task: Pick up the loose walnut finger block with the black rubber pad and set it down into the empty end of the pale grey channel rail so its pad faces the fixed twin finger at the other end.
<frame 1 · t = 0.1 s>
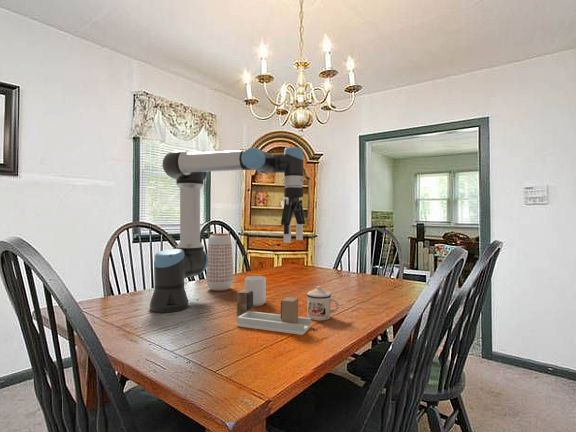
hand: (293, 241, 140), 28 cm above the table, fingers open, 13 cm apart
white patterned vase: (219, 289, 180), on the table
rail: (273, 326, 123), on the table
mug: (257, 303, 154), on the table
teacup with lid: (322, 318, 133), on the table
finger block: (244, 314, 137), on the table
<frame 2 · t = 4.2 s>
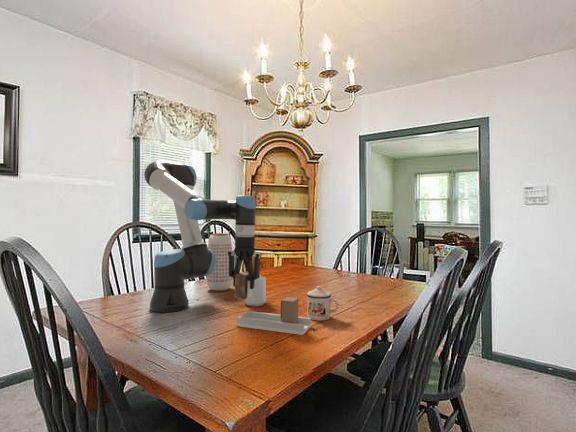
hand: (243, 296, 137), 7 cm above the table, fingers closed on finger block, 5 cm apart
finger block: (242, 297, 137), point 7 cm above the table, touching gripper
everything else where it was.
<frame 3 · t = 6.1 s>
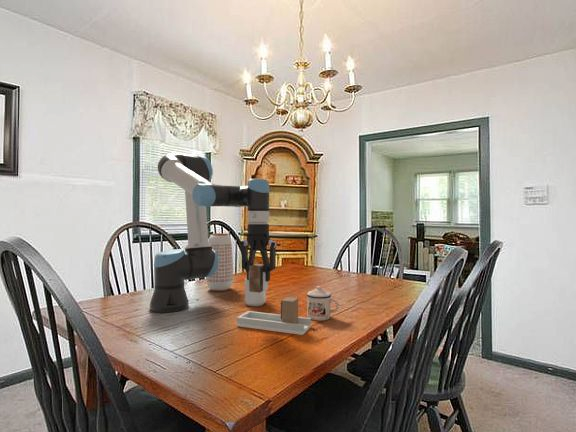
hand: (258, 289, 125), 12 cm above the table, fingers closed on finger block, 5 cm apart
finger block: (257, 290, 125), point 12 cm above the table, touching gripper
everything else where it was.
when the fingers open (2 cm above the table, at t = 8.0 s): finger block stays where it is, resting on rail.
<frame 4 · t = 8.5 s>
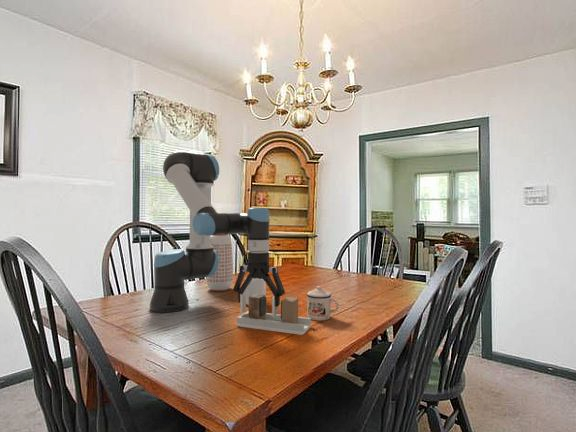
hand: (258, 313, 125), 4 cm above the table, fingers open, 12 cm apart
finger block: (257, 321, 125), point 1 cm above the table, touching rail
everything else where it was.
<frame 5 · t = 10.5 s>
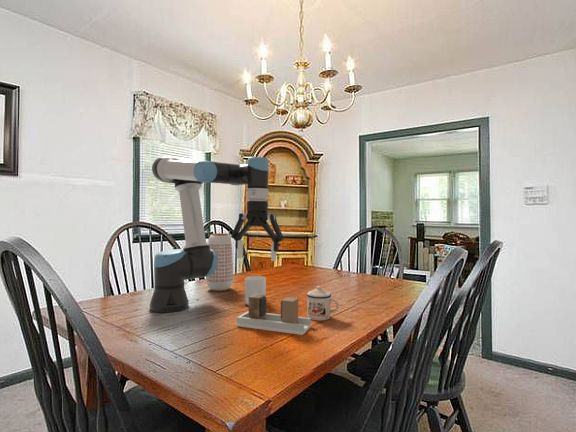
hand: (256, 259, 129), 22 cm above the table, fingers open, 13 cm apart
nothing on the table moved.
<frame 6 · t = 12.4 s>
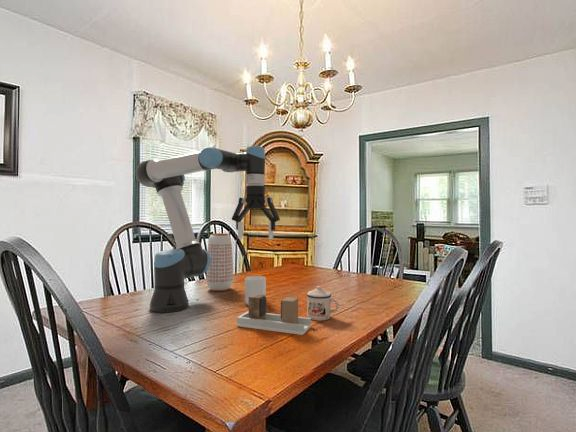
hand: (255, 238, 143), 29 cm above the table, fingers open, 13 cm apart
nothing on the table moved.
at the end: finger block 0.4 cm from the target spot on the rail, point 1.0 cm above the rail's base; finger block tilted 0°; the gripper is holding nothing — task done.
